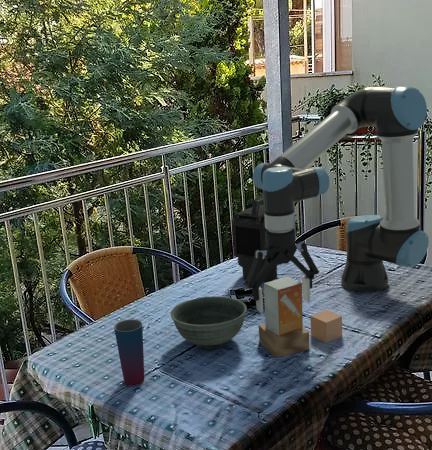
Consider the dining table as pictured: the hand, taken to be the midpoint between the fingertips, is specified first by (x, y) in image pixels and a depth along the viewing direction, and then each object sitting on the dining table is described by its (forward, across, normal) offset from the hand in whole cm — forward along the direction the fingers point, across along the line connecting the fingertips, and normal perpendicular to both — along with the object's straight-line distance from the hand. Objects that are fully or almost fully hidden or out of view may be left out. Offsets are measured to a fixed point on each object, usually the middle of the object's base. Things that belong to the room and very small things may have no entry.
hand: (283, 305), depth 155 cm
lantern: (+12, -15, -49) cm, 53 cm away
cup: (+11, +42, 0) cm, 43 cm away
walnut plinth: (+11, 0, 0) cm, 12 cm away
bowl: (+11, +18, -11) cm, 24 cm away
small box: (+7, 0, 0) cm, 7 cm away
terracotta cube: (+12, -12, 0) cm, 17 cm away
